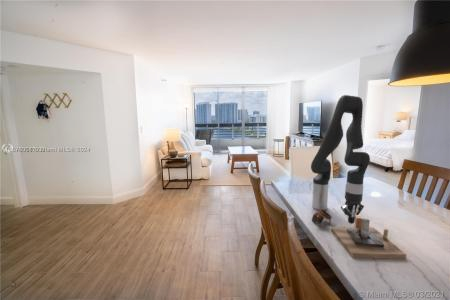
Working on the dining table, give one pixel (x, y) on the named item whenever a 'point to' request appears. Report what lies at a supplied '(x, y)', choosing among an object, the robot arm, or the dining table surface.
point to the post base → (364, 250)
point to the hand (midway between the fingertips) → (351, 222)
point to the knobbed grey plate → (356, 235)
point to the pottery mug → (320, 217)
